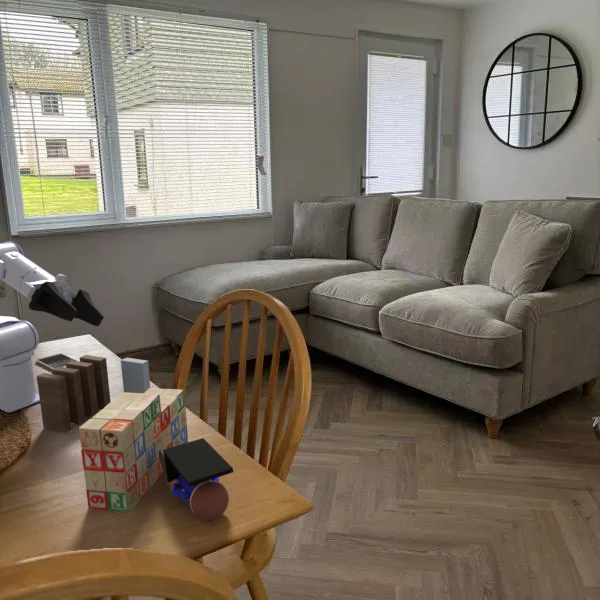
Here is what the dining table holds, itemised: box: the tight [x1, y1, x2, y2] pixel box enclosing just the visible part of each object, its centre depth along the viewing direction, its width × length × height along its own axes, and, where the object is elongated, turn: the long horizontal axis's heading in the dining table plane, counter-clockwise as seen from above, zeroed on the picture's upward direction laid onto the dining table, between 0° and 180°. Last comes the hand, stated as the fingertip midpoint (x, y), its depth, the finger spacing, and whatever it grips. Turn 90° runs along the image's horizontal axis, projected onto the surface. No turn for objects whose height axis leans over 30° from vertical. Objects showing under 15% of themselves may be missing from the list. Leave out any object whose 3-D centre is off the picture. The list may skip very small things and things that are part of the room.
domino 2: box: [51, 366, 87, 426], centre depth 108 cm, size 2×5×10 cm, turn 66°
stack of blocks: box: [78, 387, 189, 513], centre depth 90 cm, size 21×6×12 cm, turn 169°
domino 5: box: [120, 357, 151, 393], centre depth 112 cm, size 2×5×10 cm, turn 66°
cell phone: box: [35, 353, 77, 372], centre depth 139 cm, size 6×11×1 cm, turn 46°
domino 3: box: [66, 360, 99, 418], centre depth 111 cm, size 2×5×10 cm, turn 66°
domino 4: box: [79, 354, 112, 411], centre depth 114 cm, size 2×5×10 cm, turn 66°
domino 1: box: [36, 372, 72, 434], centre depth 105 cm, size 2×5×10 cm, turn 66°
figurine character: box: [159, 437, 234, 521], centre depth 83 cm, size 7×8×15 cm
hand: (87, 318), depth 104 cm, fingers open, 7 cm apart
